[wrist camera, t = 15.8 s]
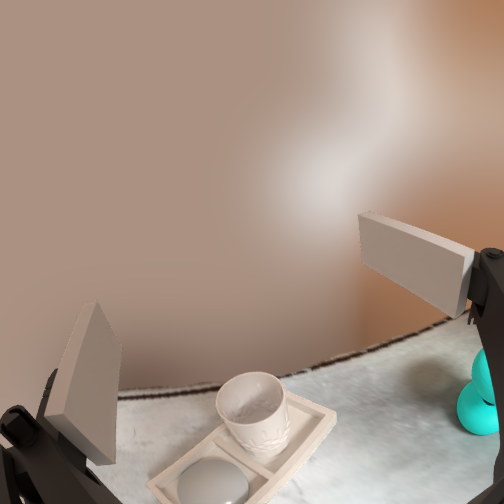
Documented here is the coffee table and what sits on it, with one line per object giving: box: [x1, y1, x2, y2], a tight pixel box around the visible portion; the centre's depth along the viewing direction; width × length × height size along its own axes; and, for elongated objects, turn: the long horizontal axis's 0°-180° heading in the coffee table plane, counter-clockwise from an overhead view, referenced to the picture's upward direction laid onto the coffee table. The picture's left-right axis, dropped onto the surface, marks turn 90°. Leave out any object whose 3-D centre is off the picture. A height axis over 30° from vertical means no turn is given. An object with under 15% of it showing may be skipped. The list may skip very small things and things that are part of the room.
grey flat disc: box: [177, 459, 250, 504], centre depth 25 cm, size 9×9×1 cm
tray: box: [145, 390, 336, 504], centre depth 29 cm, size 24×12×3 cm, turn 138°
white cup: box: [215, 372, 291, 458], centre depth 30 cm, size 8×8×10 cm
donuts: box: [457, 349, 499, 435], centre depth 23 cm, size 10×10×10 cm
